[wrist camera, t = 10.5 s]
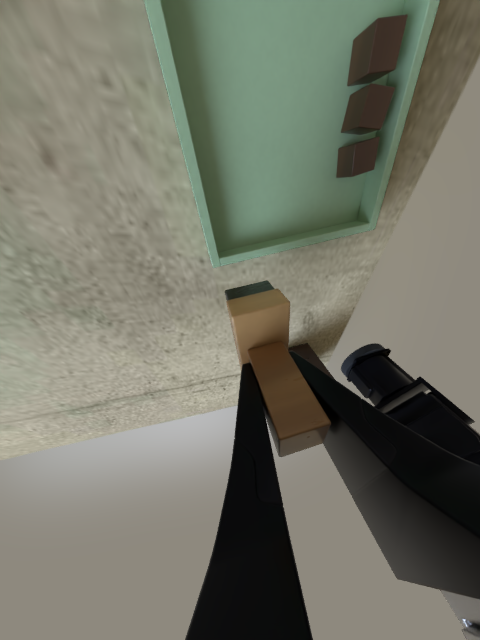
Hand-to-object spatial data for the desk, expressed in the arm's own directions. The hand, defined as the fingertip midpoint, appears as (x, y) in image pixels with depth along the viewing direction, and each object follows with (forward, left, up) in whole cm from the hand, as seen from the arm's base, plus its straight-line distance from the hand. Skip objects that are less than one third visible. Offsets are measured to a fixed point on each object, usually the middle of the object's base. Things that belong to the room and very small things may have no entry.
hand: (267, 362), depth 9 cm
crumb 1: (-9, -11, -9) cm, 17 cm away
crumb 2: (-9, -9, -9) cm, 16 cm away
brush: (0, 0, -3) cm, 3 cm away
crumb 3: (-9, -7, -9) cm, 15 cm away
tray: (-5, -9, -9) cm, 14 cm away
